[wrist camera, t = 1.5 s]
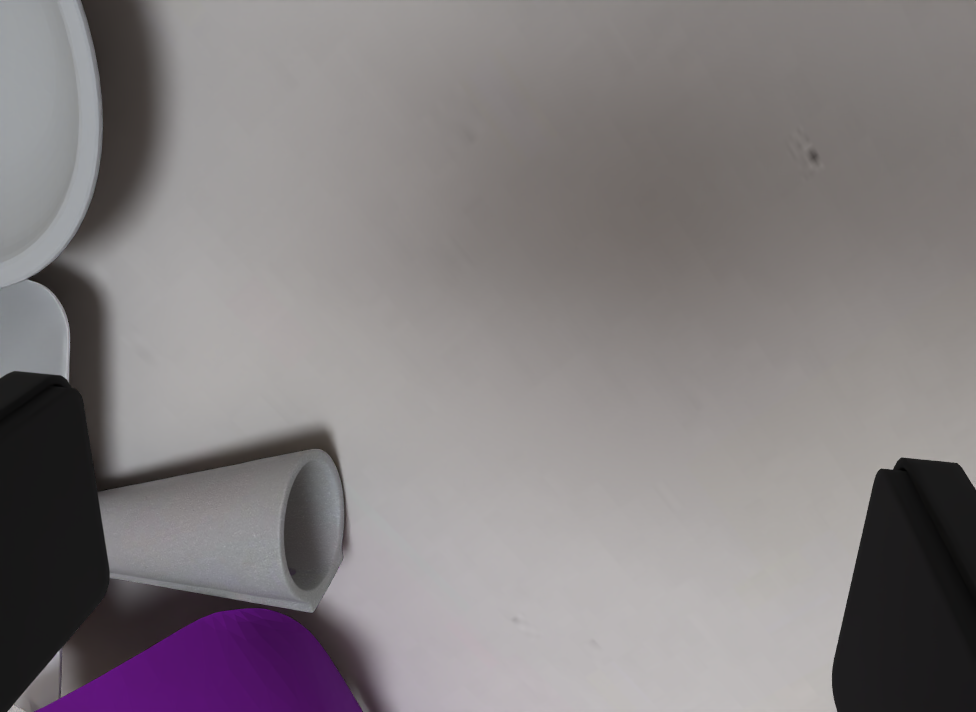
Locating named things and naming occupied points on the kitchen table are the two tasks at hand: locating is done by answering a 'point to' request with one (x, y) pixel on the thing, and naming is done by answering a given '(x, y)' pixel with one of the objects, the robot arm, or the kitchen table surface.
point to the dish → (45, 131)
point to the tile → (41, 349)
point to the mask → (222, 671)
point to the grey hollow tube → (233, 530)
